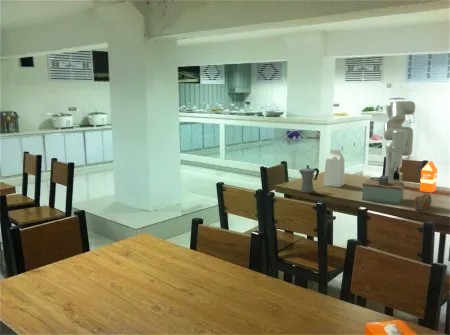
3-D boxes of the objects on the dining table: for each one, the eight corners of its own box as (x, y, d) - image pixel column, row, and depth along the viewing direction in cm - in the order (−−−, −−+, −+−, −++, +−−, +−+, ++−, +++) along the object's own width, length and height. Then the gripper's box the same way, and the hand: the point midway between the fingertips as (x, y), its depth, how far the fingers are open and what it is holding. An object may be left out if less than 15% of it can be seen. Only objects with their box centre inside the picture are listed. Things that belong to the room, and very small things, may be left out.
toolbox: (368, 193, 280) (369, 178, 278) (403, 197, 269) (404, 182, 267) (362, 199, 265) (362, 184, 263) (399, 204, 254) (400, 188, 252)
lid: (367, 181, 275) (367, 173, 274) (404, 185, 263) (404, 176, 262) (362, 185, 263) (362, 177, 262) (400, 190, 252) (401, 180, 251)
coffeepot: (301, 193, 282) (302, 167, 278) (295, 190, 291) (295, 164, 287) (321, 191, 286) (322, 165, 283) (315, 188, 295) (315, 163, 292)
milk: (344, 184, 308) (346, 149, 303) (339, 187, 299) (341, 151, 294) (328, 182, 315) (330, 148, 310) (323, 185, 305) (324, 150, 300)
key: (395, 180, 271) (395, 172, 270) (401, 181, 268) (402, 172, 267) (393, 182, 264) (393, 174, 263) (399, 183, 262) (400, 175, 261)
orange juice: (435, 190, 288) (438, 161, 284) (431, 192, 282) (434, 163, 278) (423, 188, 293) (426, 160, 289) (419, 190, 287) (421, 162, 283)
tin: (417, 211, 239) (418, 197, 237) (412, 210, 241) (413, 196, 240) (431, 207, 247) (432, 193, 246) (426, 206, 250) (427, 192, 248)
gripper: (393, 148, 265) (391, 176, 269) (389, 151, 253) (387, 181, 256) (406, 149, 261) (404, 177, 265) (402, 152, 249) (400, 182, 252)
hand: (396, 179), depth 261 cm, fingers closed
